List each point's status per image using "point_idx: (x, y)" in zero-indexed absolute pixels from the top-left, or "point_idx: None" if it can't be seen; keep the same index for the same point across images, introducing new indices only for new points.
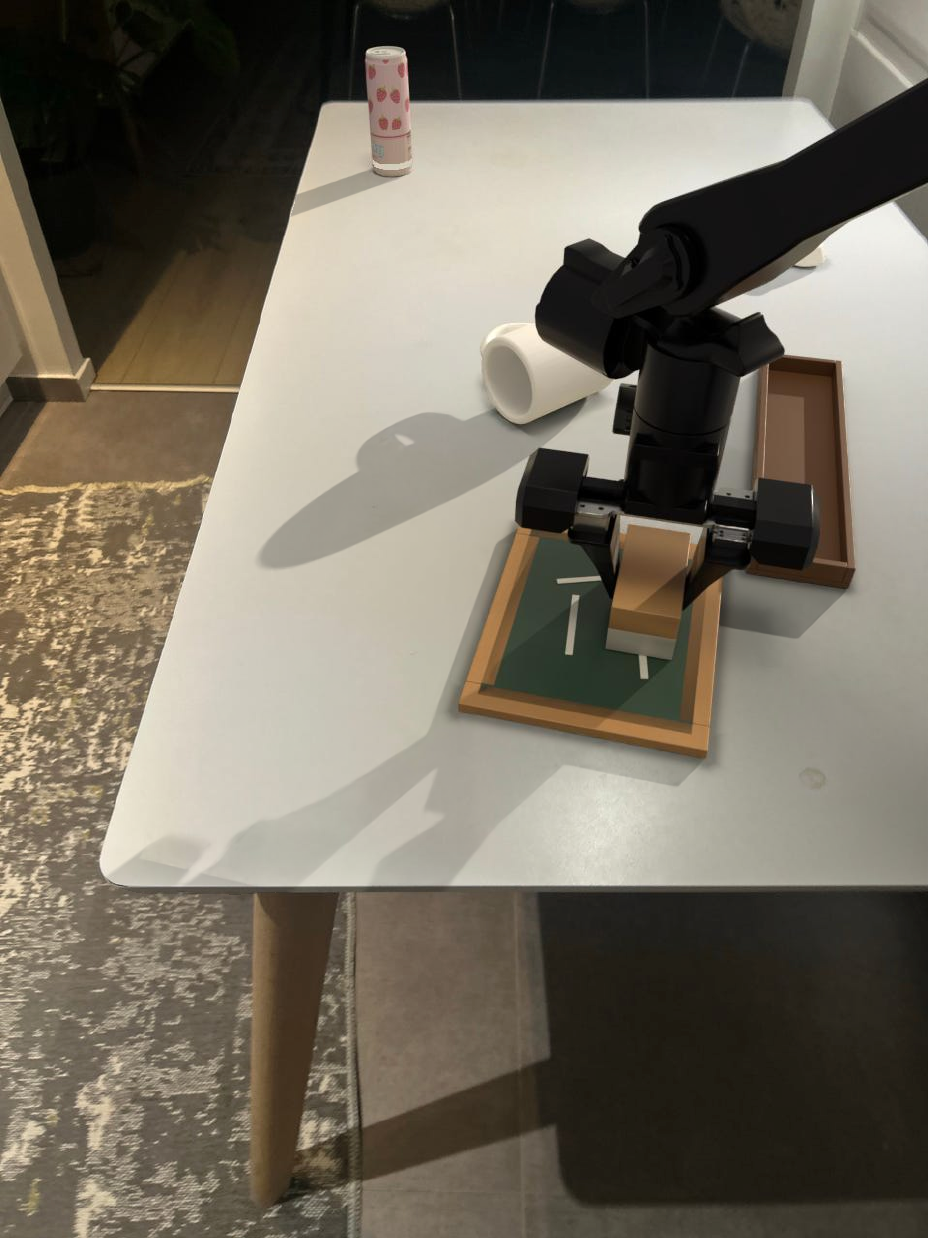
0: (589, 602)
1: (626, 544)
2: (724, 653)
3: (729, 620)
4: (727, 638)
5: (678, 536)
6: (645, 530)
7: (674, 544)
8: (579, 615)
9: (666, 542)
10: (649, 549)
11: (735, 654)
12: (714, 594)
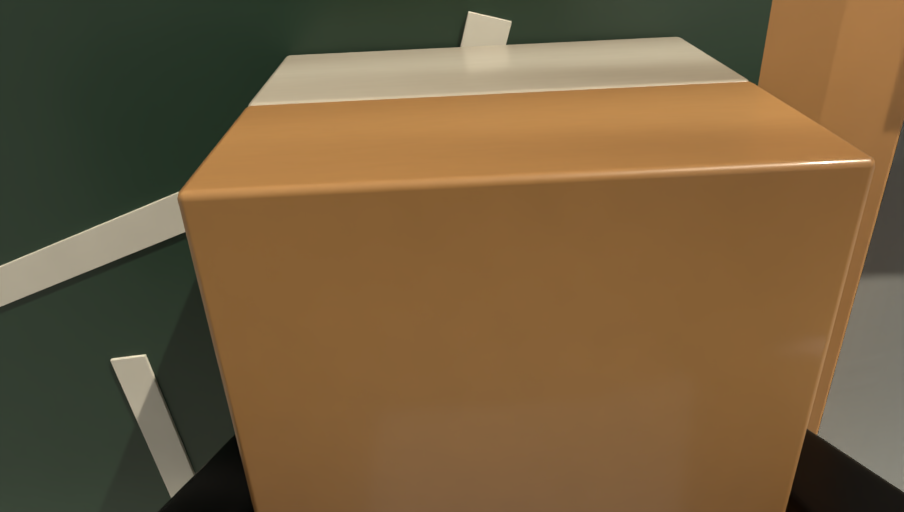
0: (212, 380)
1: (262, 473)
2: (829, 412)
3: (891, 231)
4: (857, 337)
5: (731, 252)
6: (383, 256)
7: (685, 364)
8: (200, 456)
9: (611, 368)
10: (468, 476)
11: (874, 406)
12: None
